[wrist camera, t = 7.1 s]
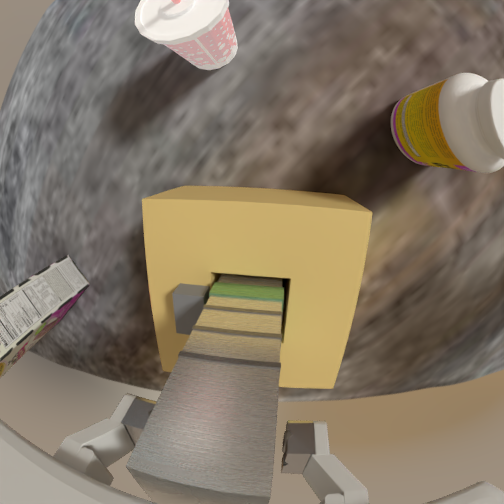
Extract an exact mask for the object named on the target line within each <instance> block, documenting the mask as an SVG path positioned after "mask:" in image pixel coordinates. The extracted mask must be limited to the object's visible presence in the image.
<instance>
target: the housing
mask: <svg viewBox="0 0 504 504" xmlns="http://www.w3.org/2000/svg"><path fill="white" fill-rule="evenodd" d="M142 207H143V226H144V241H145V253H146V264H147V274H148V283H149V284H148V286H149V294H150V302H151V308H152V313H153V319H154V326H155V332H156V338H157V343H158V349H159V354H160V359H161V364H162V369H163V371H166V372H172V370H173V368H174V366H175V364H176V362H177V360H178V354H179V352H180V351H182V350H183V348H184V346H185V344H186V342H187V340H188V338H189V336H190V334H191V332H192V327H193V325H196V323H197V321H198V319H199V317H200V315H201V313H202V311H203V306H204V304H205V305H206V303H207V301H208V299H209V292H210V290H211V288H212V287H213V285H214V283H215V282H218V280H219V278H220V276H221V274H222V273H227V274H239V275H251V276H264V277H277V278H286V279H285V289H284V302H283V315H282V324H281V334H282V341H281V349H280V363H281V370H280V377H279V387H292V388H326V389H333V387H334V384H335V381H336V378H337V374H338V371H339V368H340V365H341V361H342V358H343V354H344V351H345V347H346V344H347V340H348V336H349V332H350V328H351V324H352V320H353V316H354V312H355V308H356V303H357V299H358V294H359V290H360V285H361V280H362V275H363V270H364V264H365V259H366V253H367V247H368V241H369V234H370V227H371V220H372V212H371V211H369V210H368V209H366V208H365V207H363V206H362V205H360V204H358V203H357V202H355V201H353V200H352V199H350V198H348V197H347V196H345V195H340V194H330V193H320V192H308V191H296V190H282V189H266V188H247V187H221V186H182V187H178V188H175V189H172V190H169V191H165V192H162V193H159V194H156V195H153V196H150V197H147V198H144V199H142Z"/></svg>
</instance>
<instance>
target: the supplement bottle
mask: <svg viewBox="0 0 504 504" xmlns="http://www.w3.org/2000/svg"><path fill="white" fill-rule="evenodd" d="M391 131H392V135H393V138H394V141H395V143H396V145H397V146H398V148H399V149H400V151H401V152H402V153H403V154H404V155H405V156H406V157H407V158H408V159H410V160H411V161H413V162H415V163H417V164H420V165H425V166H434V167H443V168H452V169H460V170H467V171H474V172H480V173H492V172H495V171H497V170H499V169H501V168H502V167H503V166H504V79H497V80H491V81H488V80H486V79H485V78H483V77H481V76H479V75H476V74H472V73H460V74H457V75H454V76H452V77H449V78H447V79H445V80H442V81H440V82H437V83H435V84H433V85H430V86H428V87H425V88H423V89H421V90H418V91H416V92H414V93H411V94H409V95H407V96H405V97H403V98H402V99H400V100H399V101H398V102H397V104H396V105H395V107H394V109H393V111H392V115H391Z"/></svg>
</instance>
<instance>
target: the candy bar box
mask: <svg viewBox="0 0 504 504" xmlns="http://www.w3.org/2000/svg"><path fill="white" fill-rule="evenodd" d="M89 285H90V284H89V282H88V280H87V279H86V278H85V276H84V275H83V274H82V273H81V272H80V270H79V269H78V268H77V266H76V265H75V263H74V262H73V261H72V259H71V258H70V257H69V255H67V256H65V257H63V258H61V259H60V260H58V261H56V262H54V263H53V264H51V265H49V266H48V267H46V268H44V269H43V270H41V271H39V272H38V273H36V274H35V275H33V276H31V277H30V278H28V279H27V280H25V281H24V282H22V283H20V284H19V285H17V286H16V287H14V288H12V289H11V290H9V291H8V292H6V293H5V294H3V295H2V296H0V378H1V377H2V376H3V375H4V374H5V373H6V372H7V371H8V370H9V369H10V368H11V367H12V366H13V365H14V364H15V363H16V362H17V361H18V360H19V359H20V358H21V357H22V356H23V355H24V354H25V353H26V352H27V351H28V350H29V349H30V348H31V347H32V346H33V345H34V344H36V343H37V342H38V341H39V340H40V339H41V338H42V337H43V336H44V335H45V334H46V333H47V332H48V331H49V330H51V329H52V328H53V327H54V326H55V325H56V324H57V323H58V322H60V320H61V319H62V318H63V316H64V315H65V314H66V313H67V311H68V310H69V309H70V308H71V306H72V305H73V304H74V303H75V302H76V300H77V299H78V298H79V297H80V295H81V294H82V293H83V292H84V291H85V289H86V288H87V287H88V286H89Z"/></svg>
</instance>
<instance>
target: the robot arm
mask: <svg viewBox="0 0 504 504" xmlns="http://www.w3.org/2000/svg"><path fill="white" fill-rule="evenodd" d="M155 404H156V401H152V400H149V399H145V398H142V397H138V396H135V395H132V394H128V393H127V394H126V395H124V396H123V398H122V400H121V401H120V403H119V405H118V406H117V408H116V409H115V411H114V413H113V414H112V416H111V417H110V419H108V418H106V419H104V420H102V421H100V422H98V423H95V424H93V425H91V426H89V427H87V428H85V429H83V430H81V431H78V432H76V433H74V434H71V435H69V436H67V437H66V438H65V439H64V441H63V442H62V444H61V446H60V447H59V449H58V450H57V451H56V453H55V455H54V456H51V455H49V454H48V453H46V452H45V451H43V450H41V449H40V448H38V447H37V446H35V445H34V444H33V443H31V442H30V441H28V440H27V439H25V438H24V437H23V436H21V435H20V434H19V433H17V432H16V431H15V430H13V429H12V428H11V427H10V426H8V425H7V424H6V423H4V422H3V421H2V420H1V419H0V504H157V503H154V502H151V501H148V500H145V499H142V498H139V497H136V496H133V495H131V494H128V493H125V492H123V491H120V490H118V489H115V488H113V487H111V486H110V485H111V483H112V481H113V476H112V474H111V473H110V472H109V471H108V470H107V468H106V467H108V466H110V465H111V464H112V463H114V462H116V461H117V460H119V459H120V458H122V457H123V456H125V455H126V454H127V453H129V452H130V451H132V450H133V449H134V448H135V446H136V444H137V441H138V439H139V437H140V435H141V433H142V431H143V429H144V427H145V425H146V423H147V421H148V419H149V417H150V415H151V413H152V410H153V408H154V406H155ZM328 440H329V439H328V429H327V423H326V421H287V425H286V431H285V433H284V439H283V450H282V451H283V453H284V454H283V458H282V469H281V473H291V474H302V475H303V477H304V478H305V480H306V481H307V482H308V484H309V485H310V487H311V488H312V490H313V491H314V492H315V494H316V495H317V496H318V498H319V499H320V501H321V502H320V504H369V498H368V490H367V489H366V488H365V487H364V486H363V485H362V484H361V483H360V482H359V481H358V479H357V478H356V477H355V476H354V475H353V474H352V473H351V472H350V471H349V470H348V469H347V468H346V467H345V466H344V465H343V464H342V463H341V462H340V461H339V459H337V457H336V456H335V455H334V454H330V451H329V441H328ZM425 504H504V492H503V491H502V490H500V489H499V488H497V487H495V486H493V485H492V484H490V483H488V482H486V481H481V482H478V483H476V484H473V485H471V486H469V487H467V488H464V489H462V490H460V491H457V492H455V493H452V494H450V495H447V496H444V497H442V498H439V499H436V500H433V501H430V502H427V503H425Z"/></svg>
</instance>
